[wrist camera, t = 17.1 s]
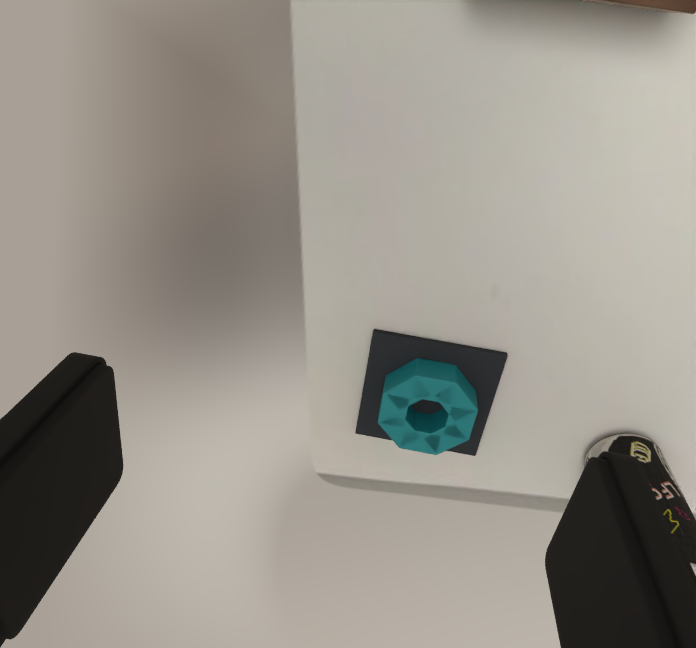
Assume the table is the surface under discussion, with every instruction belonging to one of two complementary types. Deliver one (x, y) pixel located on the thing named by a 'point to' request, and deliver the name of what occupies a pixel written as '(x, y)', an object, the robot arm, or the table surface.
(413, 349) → the mat
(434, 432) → the ring
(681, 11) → the platform
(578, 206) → the table surface
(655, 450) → the beverage can
